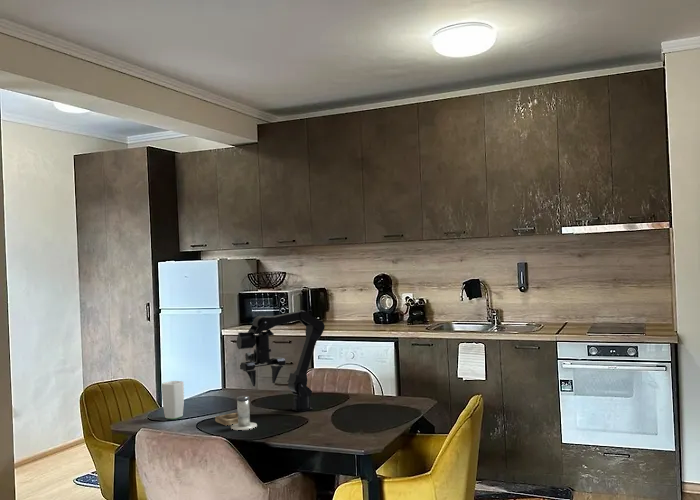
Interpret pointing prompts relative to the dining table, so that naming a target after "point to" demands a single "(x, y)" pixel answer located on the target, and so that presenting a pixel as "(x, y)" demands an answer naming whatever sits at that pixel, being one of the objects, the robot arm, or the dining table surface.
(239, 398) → the glass jar
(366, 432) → the dining table surface
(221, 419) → the oak collar
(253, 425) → the disc
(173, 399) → the cup
